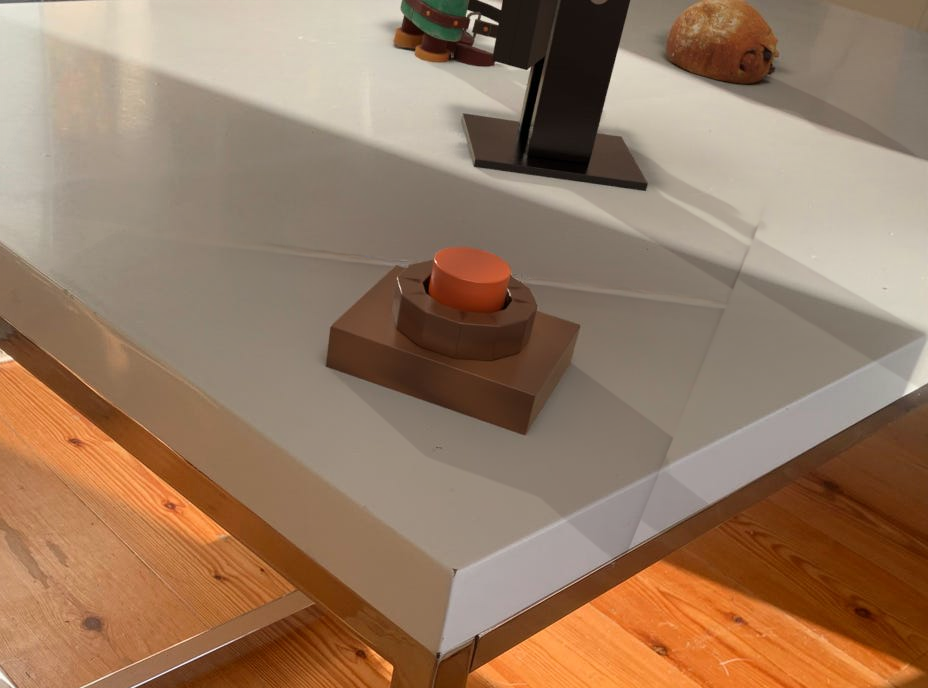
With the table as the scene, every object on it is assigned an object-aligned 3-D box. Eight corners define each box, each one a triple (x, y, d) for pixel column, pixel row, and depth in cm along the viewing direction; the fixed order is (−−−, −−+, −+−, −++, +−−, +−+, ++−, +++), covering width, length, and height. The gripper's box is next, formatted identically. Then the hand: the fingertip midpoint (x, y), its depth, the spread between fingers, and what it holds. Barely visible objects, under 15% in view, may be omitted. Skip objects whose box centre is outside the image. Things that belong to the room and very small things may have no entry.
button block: (570, 363, 57) (590, 291, 54) (525, 436, 51) (544, 359, 48) (390, 303, 59) (401, 231, 56) (325, 367, 53) (334, 289, 50)
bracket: (617, 152, 84) (671, -51, 75) (643, 200, 77) (706, -17, 68) (459, 129, 82) (496, -83, 73) (471, 176, 75) (514, -51, 66)
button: (513, 295, 54) (521, 261, 53) (489, 325, 51) (497, 289, 50) (443, 273, 54) (449, 239, 53) (416, 301, 51) (422, 265, 50)
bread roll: (697, 86, 115) (689, 1, 112) (796, 71, 109) (790, -20, 106) (654, 102, 108) (644, 11, 105) (756, 86, 102) (749, -11, 99)
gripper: (925, -747, 33) (689, 79, 48) (509, -803, 35) (406, 2, 50) (919, -850, 27) (653, 124, 42) (424, -909, 29) (336, 35, 44)
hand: (519, 57), depth 46 cm, fingers closed
